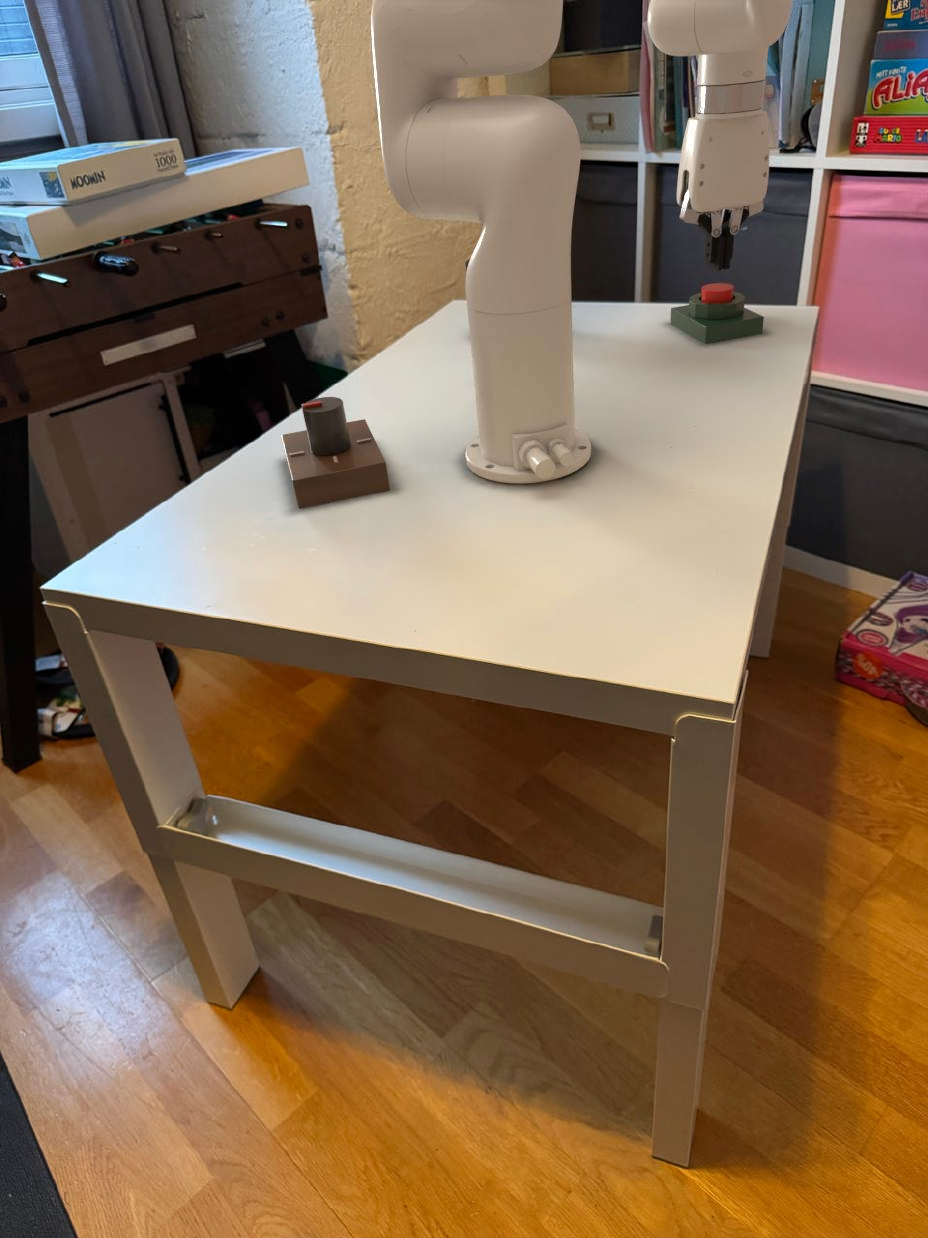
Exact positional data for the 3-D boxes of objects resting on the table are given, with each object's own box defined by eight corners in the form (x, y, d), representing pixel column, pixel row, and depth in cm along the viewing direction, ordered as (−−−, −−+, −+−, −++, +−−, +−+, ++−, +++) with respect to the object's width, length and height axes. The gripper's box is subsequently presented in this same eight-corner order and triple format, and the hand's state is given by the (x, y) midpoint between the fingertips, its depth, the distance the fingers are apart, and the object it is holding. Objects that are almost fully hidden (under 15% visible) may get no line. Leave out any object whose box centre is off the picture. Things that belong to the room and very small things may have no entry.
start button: (738, 302, 113) (739, 287, 112) (710, 307, 112) (710, 293, 111) (723, 294, 116) (724, 281, 115) (695, 299, 116) (696, 286, 115)
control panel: (390, 490, 86) (385, 460, 84) (298, 508, 84) (291, 478, 83) (369, 444, 95) (364, 417, 94) (286, 460, 94) (280, 433, 92)
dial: (347, 436, 90) (339, 390, 87) (353, 450, 87) (345, 404, 84) (308, 443, 89) (299, 398, 87) (313, 458, 86) (303, 412, 84)
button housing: (762, 333, 113) (765, 301, 111) (705, 344, 112) (707, 312, 109) (723, 314, 121) (725, 284, 119) (670, 324, 120) (671, 294, 118)
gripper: (770, 92, 106) (755, 254, 116) (655, 106, 103) (650, 270, 114) (806, 94, 100) (787, 265, 110) (684, 110, 97) (676, 282, 107)
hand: (717, 267), depth 112 cm, fingers closed
